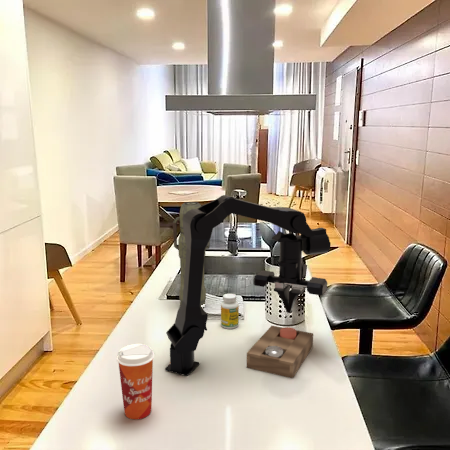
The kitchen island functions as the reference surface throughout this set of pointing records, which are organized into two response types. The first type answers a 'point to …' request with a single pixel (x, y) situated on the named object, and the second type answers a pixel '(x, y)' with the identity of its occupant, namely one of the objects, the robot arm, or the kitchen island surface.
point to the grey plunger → (274, 351)
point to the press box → (292, 348)
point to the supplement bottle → (229, 311)
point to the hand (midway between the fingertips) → (289, 312)
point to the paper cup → (136, 379)
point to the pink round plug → (288, 333)
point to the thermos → (183, 247)
